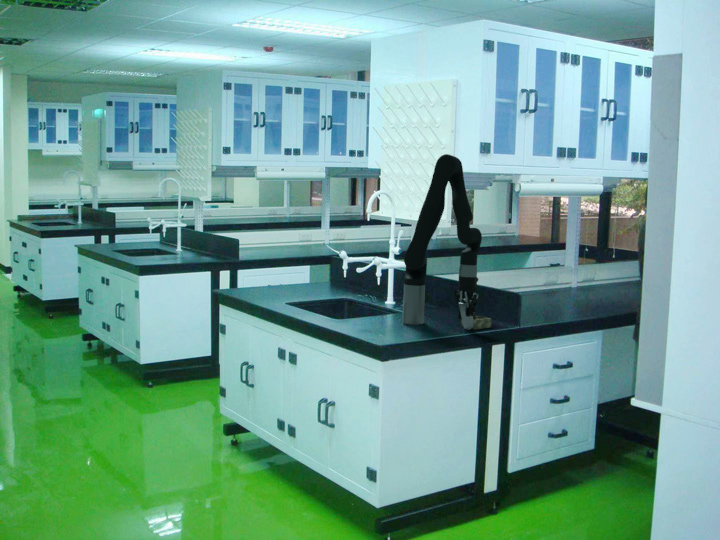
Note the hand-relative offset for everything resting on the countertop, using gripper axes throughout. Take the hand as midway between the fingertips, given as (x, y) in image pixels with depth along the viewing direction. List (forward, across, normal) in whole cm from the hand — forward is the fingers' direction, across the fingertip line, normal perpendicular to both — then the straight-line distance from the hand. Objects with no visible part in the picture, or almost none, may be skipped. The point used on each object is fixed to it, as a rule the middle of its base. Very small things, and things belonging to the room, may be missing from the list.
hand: (465, 315), depth 319 cm
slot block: (+6, +2, -9) cm, 11 cm away
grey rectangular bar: (+6, 0, -2) cm, 6 cm away
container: (+6, +19, -19) cm, 27 cm away
